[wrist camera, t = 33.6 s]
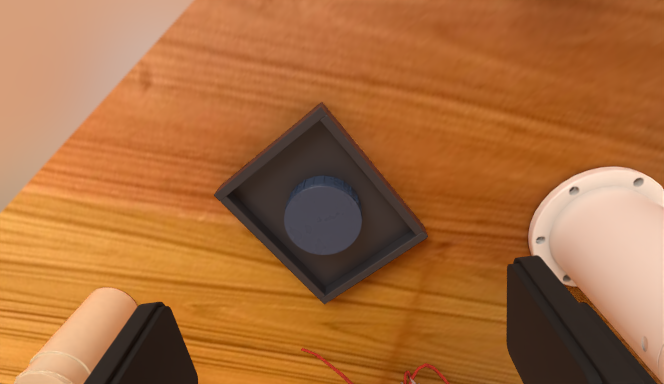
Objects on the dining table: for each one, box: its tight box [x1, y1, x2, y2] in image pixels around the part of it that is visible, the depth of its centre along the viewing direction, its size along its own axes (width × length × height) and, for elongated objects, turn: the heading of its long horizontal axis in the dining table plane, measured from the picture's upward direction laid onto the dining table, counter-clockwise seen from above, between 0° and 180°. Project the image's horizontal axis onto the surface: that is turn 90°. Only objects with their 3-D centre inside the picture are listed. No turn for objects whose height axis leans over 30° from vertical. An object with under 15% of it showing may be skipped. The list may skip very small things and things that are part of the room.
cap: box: [284, 175, 362, 255], centre depth 37 cm, size 7×7×2 cm
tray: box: [214, 102, 428, 304], centre depth 38 cm, size 16×13×2 cm
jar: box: [14, 287, 137, 384], centre depth 39 cm, size 6×6×11 cm
